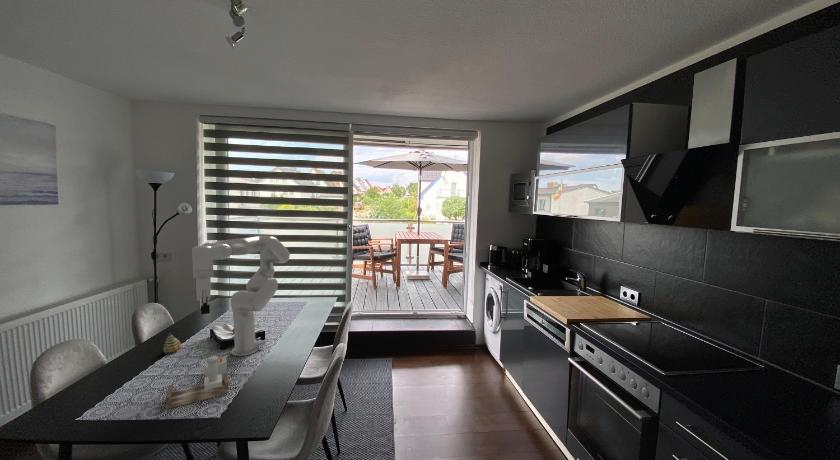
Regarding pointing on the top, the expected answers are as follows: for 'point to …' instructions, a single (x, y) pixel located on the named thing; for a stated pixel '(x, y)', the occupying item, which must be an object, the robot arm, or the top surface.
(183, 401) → the brown wooden tray
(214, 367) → the grey pedestal
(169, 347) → the ornament
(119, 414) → the top surface
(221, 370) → the white box
